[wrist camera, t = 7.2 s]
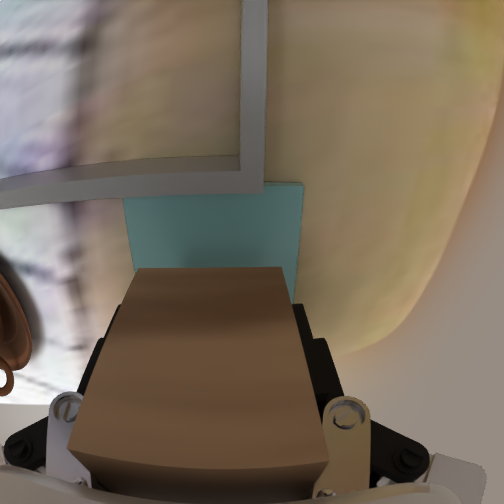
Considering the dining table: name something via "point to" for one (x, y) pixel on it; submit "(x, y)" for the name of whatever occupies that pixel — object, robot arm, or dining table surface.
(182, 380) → the walnut block
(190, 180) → the grey square frame
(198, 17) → the dining table surface
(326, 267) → the dining table surface
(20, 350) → the cup and saucer
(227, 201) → the pad
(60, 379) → the dining table surface
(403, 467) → the robot arm
